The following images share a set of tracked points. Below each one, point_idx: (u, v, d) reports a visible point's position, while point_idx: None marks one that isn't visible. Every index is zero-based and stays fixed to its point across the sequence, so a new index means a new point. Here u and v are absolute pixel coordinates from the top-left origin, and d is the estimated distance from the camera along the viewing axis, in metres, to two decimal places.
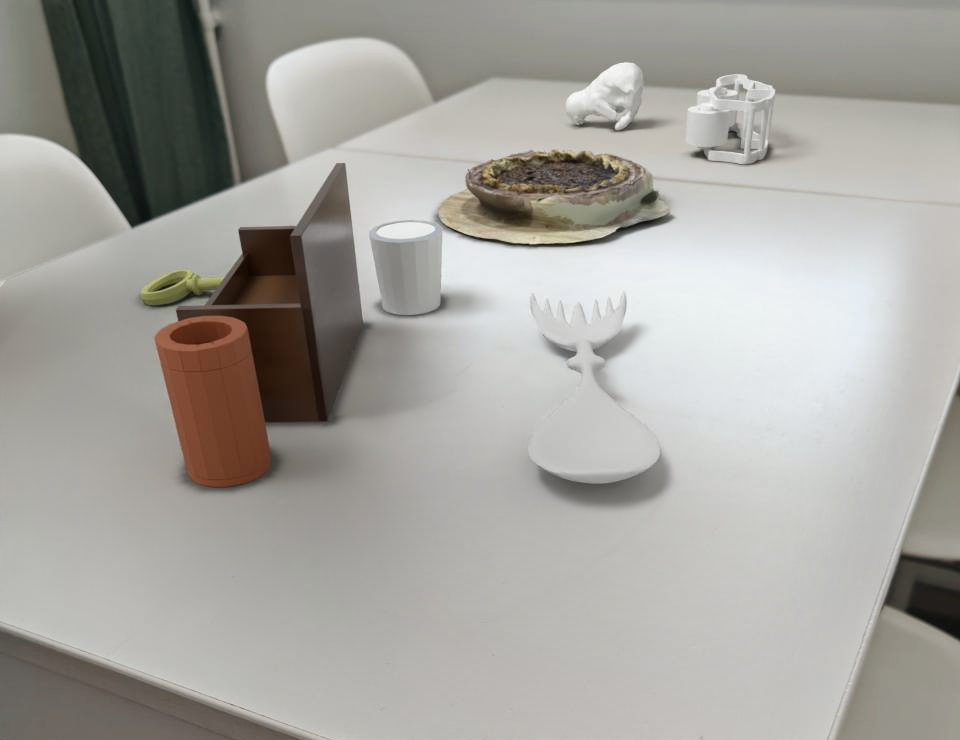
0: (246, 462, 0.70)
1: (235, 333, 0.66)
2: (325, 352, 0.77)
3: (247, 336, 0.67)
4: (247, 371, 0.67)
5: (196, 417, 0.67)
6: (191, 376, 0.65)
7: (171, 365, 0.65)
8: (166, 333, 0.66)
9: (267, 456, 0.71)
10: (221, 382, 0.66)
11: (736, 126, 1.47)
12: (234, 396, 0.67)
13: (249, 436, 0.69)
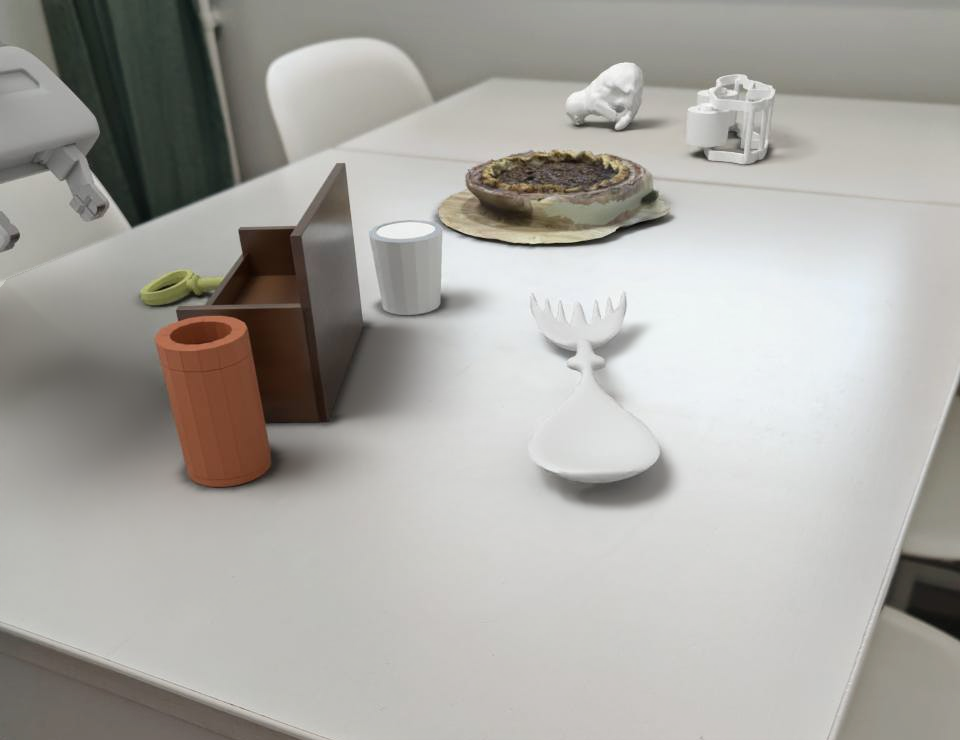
0: (246, 462, 0.70)
1: (235, 333, 0.66)
2: (325, 352, 0.77)
3: (247, 336, 0.67)
4: (247, 371, 0.67)
5: (196, 417, 0.67)
6: (191, 376, 0.65)
7: (171, 365, 0.65)
8: (166, 333, 0.66)
9: (267, 456, 0.71)
10: (221, 382, 0.66)
11: (736, 126, 1.47)
12: (234, 396, 0.67)
13: (249, 436, 0.69)
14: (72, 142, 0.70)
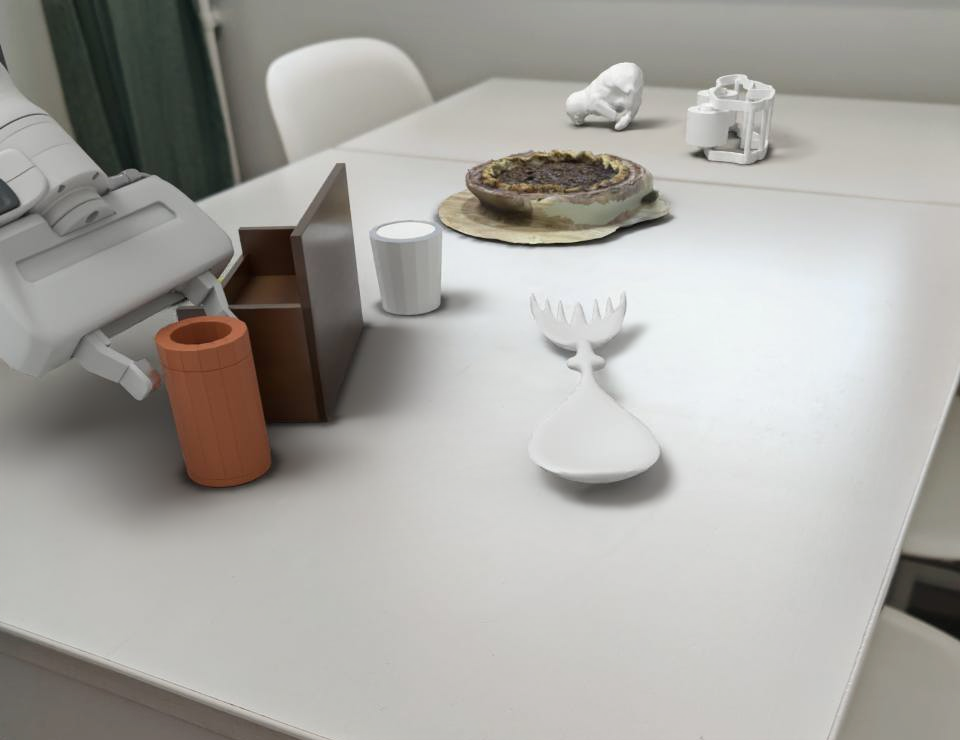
0: (246, 462, 0.70)
1: (235, 333, 0.66)
2: (325, 352, 0.77)
3: (247, 336, 0.67)
4: (247, 371, 0.67)
5: (196, 417, 0.67)
6: (191, 376, 0.65)
7: (171, 365, 0.65)
8: (166, 333, 0.66)
9: (267, 456, 0.71)
10: (221, 382, 0.66)
11: (736, 126, 1.47)
12: (234, 396, 0.67)
13: (249, 436, 0.69)
14: (207, 268, 0.71)
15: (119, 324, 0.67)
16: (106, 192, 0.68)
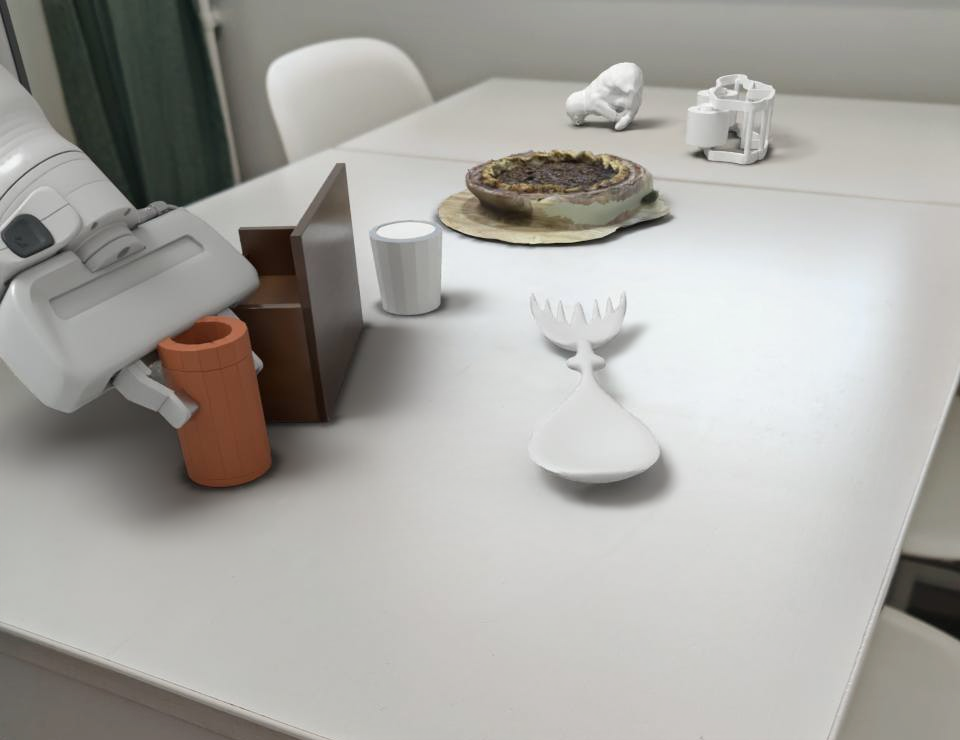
0: (246, 462, 0.70)
1: (235, 333, 0.66)
2: (325, 352, 0.77)
3: (247, 336, 0.67)
4: (247, 371, 0.67)
5: (196, 417, 0.67)
6: (191, 376, 0.65)
7: (171, 365, 0.65)
8: None
9: (267, 456, 0.71)
10: (221, 382, 0.66)
11: (736, 126, 1.47)
12: (234, 396, 0.67)
13: (249, 436, 0.69)
14: (234, 302, 0.71)
15: (148, 358, 0.68)
16: (136, 226, 0.68)
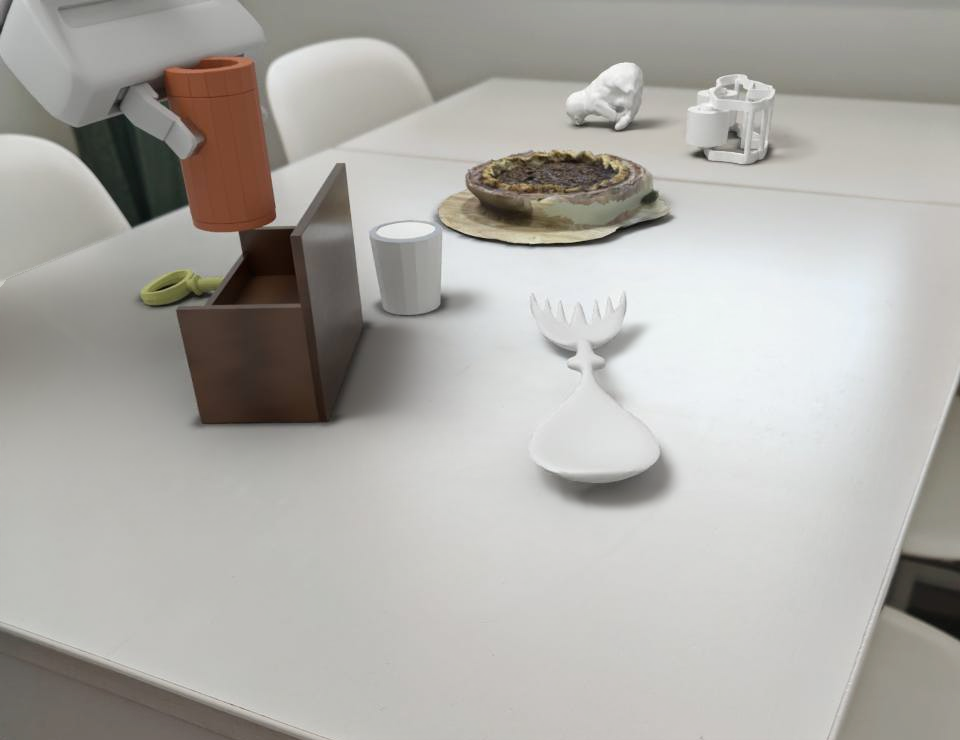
0: (251, 206, 0.70)
1: (242, 63, 0.66)
2: (325, 352, 0.77)
3: (253, 69, 0.67)
4: (253, 105, 0.67)
5: (202, 151, 0.67)
6: (197, 103, 0.66)
7: (178, 91, 0.66)
8: None
9: (272, 206, 0.72)
10: (227, 111, 0.66)
11: (736, 126, 1.47)
12: (240, 129, 0.67)
13: (254, 178, 0.69)
14: (240, 52, 0.72)
15: None
16: None
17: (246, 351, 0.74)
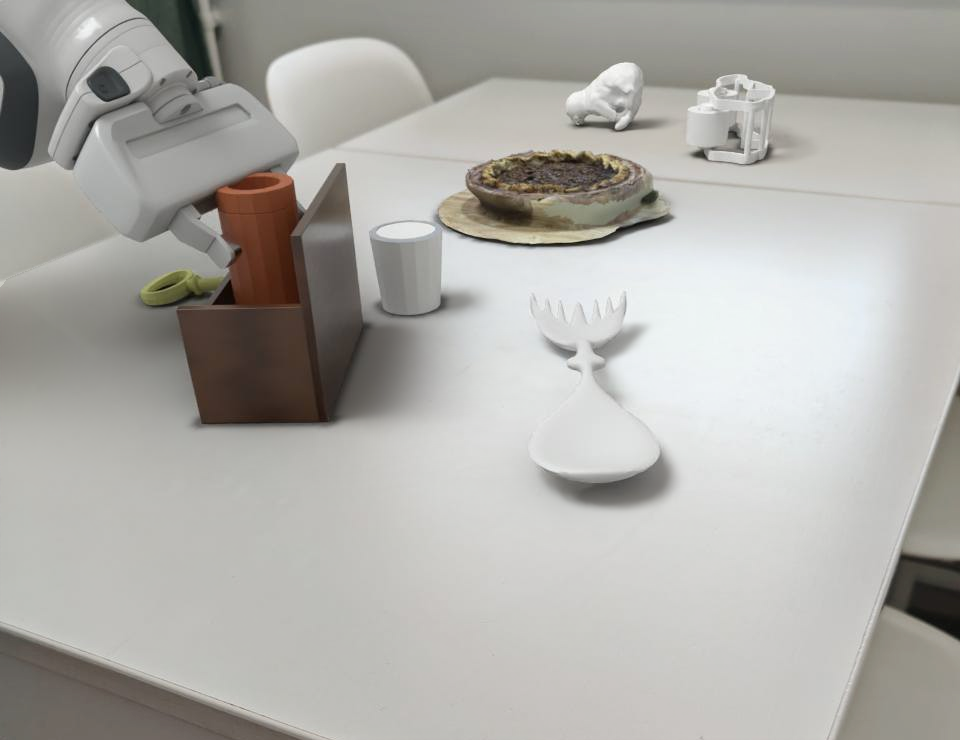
0: (291, 302, 0.80)
1: (283, 182, 0.76)
2: (325, 352, 0.77)
3: (293, 186, 0.77)
4: (293, 218, 0.77)
5: (249, 257, 0.77)
6: (245, 218, 0.75)
7: (228, 209, 0.75)
8: None
9: None
10: (271, 224, 0.76)
11: (736, 126, 1.47)
12: (282, 239, 0.77)
13: (294, 278, 0.79)
14: (278, 164, 0.81)
15: (204, 206, 0.78)
16: (194, 92, 0.78)
17: (246, 351, 0.74)
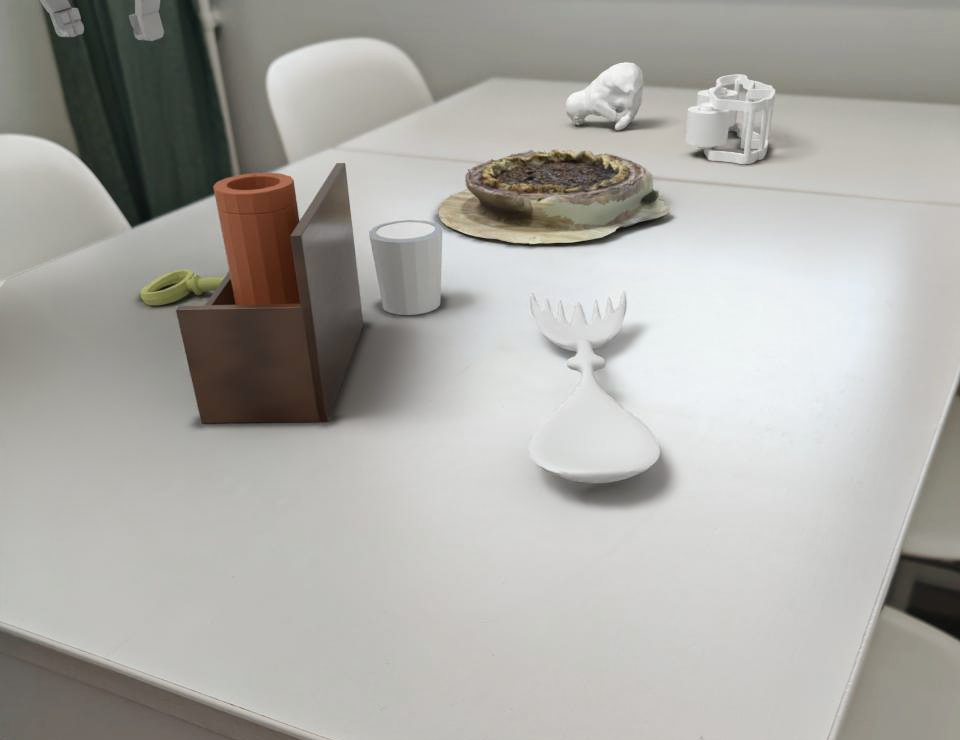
0: (291, 302, 0.80)
1: (283, 182, 0.76)
2: (325, 352, 0.77)
3: (293, 186, 0.77)
4: (293, 218, 0.77)
5: (249, 257, 0.77)
6: (245, 218, 0.75)
7: (228, 209, 0.75)
8: (223, 183, 0.77)
9: None
10: (271, 224, 0.76)
11: (736, 126, 1.47)
12: (282, 239, 0.77)
13: (294, 278, 0.79)
14: None
15: None
16: None
17: (246, 351, 0.74)
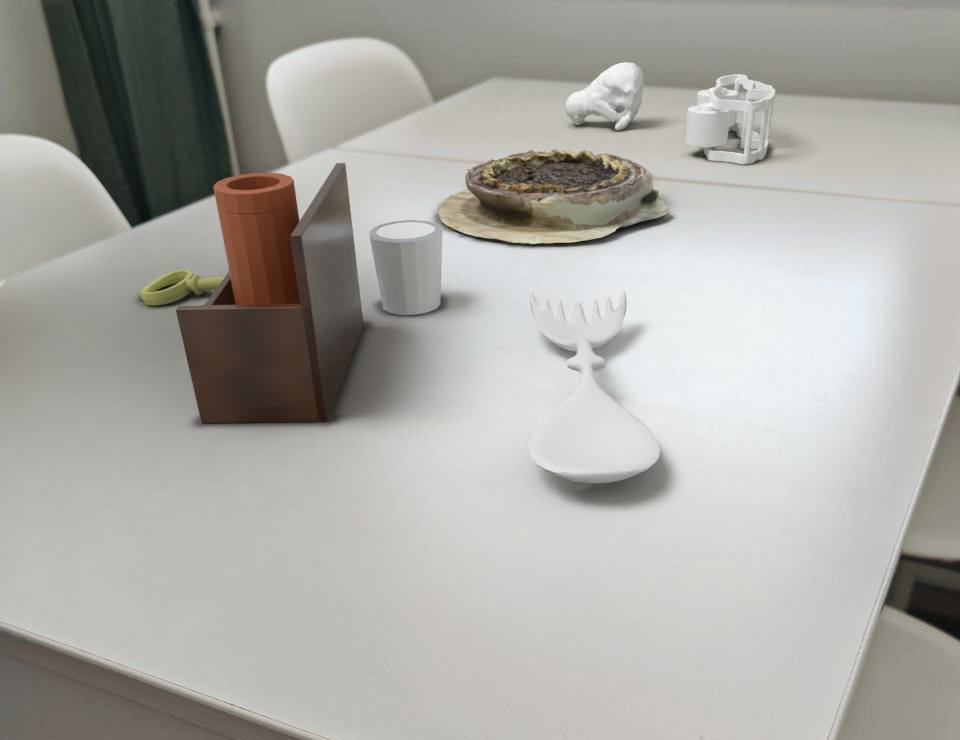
0: (291, 302, 0.80)
1: (283, 182, 0.76)
2: (325, 352, 0.77)
3: (293, 186, 0.77)
4: (293, 218, 0.77)
5: (249, 257, 0.77)
6: (245, 218, 0.75)
7: (228, 209, 0.75)
8: (223, 183, 0.77)
9: None
10: (271, 224, 0.76)
11: (736, 126, 1.47)
12: (282, 239, 0.77)
13: (294, 278, 0.79)
14: None
15: None
16: None
17: (246, 351, 0.74)
